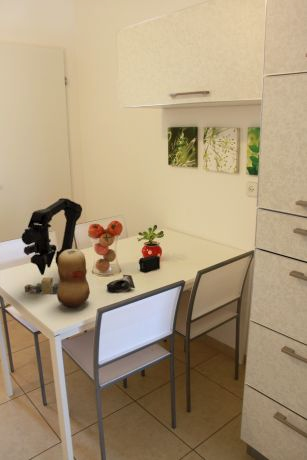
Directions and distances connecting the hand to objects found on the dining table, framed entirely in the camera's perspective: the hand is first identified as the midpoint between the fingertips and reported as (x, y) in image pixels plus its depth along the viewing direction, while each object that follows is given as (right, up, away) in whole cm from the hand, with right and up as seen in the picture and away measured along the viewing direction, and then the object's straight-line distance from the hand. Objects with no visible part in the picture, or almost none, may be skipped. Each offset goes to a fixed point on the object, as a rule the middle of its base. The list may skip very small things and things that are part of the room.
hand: (45, 271), depth 180 cm
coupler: (0, -10, +3) cm, 11 cm away
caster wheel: (+34, -10, +4) cm, 35 cm away
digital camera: (+48, -3, +29) cm, 56 cm away
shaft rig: (0, -10, +3) cm, 11 cm away
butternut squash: (+16, -14, -11) cm, 24 cm away
